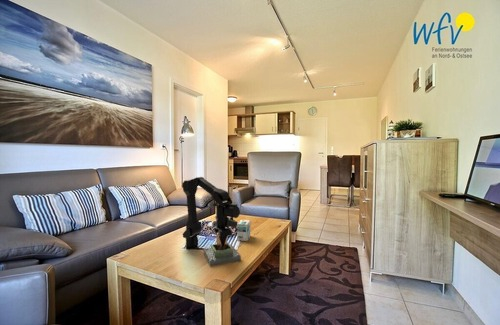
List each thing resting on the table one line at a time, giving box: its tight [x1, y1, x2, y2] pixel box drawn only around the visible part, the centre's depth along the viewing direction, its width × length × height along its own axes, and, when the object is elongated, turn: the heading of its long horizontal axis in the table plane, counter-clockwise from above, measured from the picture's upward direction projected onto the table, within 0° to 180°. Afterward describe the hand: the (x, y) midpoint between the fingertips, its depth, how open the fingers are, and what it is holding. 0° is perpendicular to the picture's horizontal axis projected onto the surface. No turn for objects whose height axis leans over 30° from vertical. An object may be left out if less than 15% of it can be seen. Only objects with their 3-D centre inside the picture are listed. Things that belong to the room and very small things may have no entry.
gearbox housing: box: [203, 241, 242, 267], centre depth 126 cm, size 16×16×6 cm
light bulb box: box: [236, 219, 251, 242], centre depth 154 cm, size 11×7×11 cm, turn 168°
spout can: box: [216, 231, 228, 250], centre depth 126 cm, size 7×6×10 cm
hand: (221, 243), depth 126 cm, fingers closed on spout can, 5 cm apart
